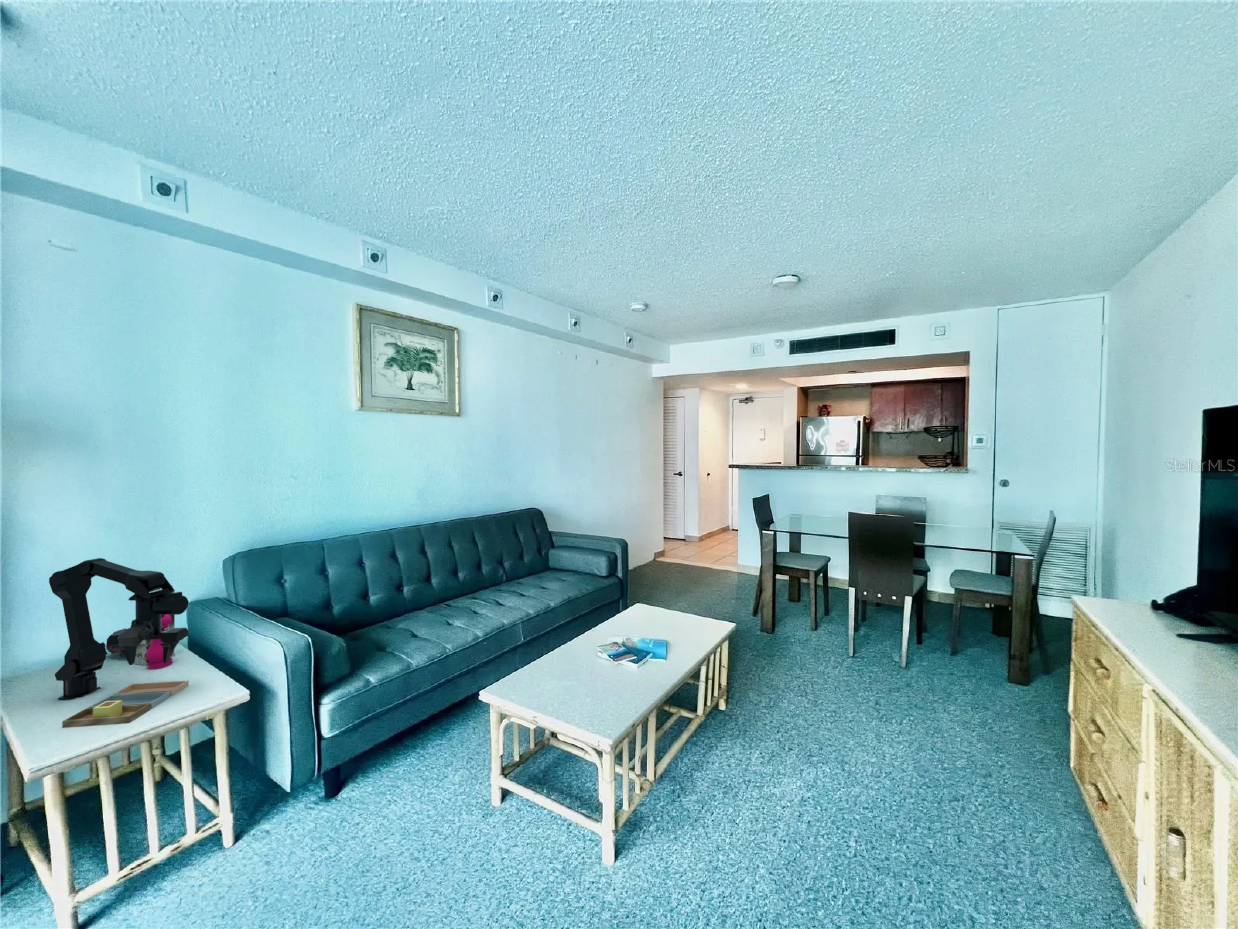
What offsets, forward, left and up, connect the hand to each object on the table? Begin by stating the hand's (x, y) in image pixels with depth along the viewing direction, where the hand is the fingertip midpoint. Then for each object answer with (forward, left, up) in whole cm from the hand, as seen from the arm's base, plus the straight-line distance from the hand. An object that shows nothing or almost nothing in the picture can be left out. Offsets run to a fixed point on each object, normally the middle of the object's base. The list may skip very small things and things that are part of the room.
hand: (148, 663), depth 148 cm
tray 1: (0, -14, -10) cm, 17 cm away
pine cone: (-34, +36, -10) cm, 51 cm away
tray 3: (0, +1, -10) cm, 10 cm away
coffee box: (-20, +30, -10) cm, 37 cm away
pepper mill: (-14, +24, -10) cm, 30 cm away
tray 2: (0, -7, -10) cm, 12 cm away
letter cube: (0, -14, -10) cm, 17 cm away
